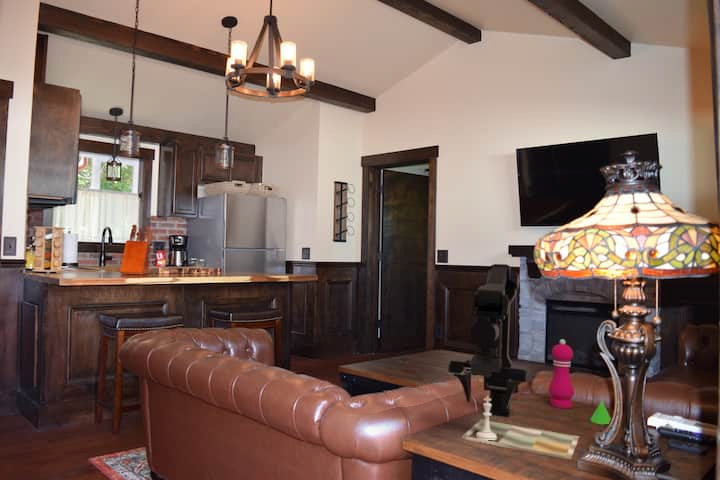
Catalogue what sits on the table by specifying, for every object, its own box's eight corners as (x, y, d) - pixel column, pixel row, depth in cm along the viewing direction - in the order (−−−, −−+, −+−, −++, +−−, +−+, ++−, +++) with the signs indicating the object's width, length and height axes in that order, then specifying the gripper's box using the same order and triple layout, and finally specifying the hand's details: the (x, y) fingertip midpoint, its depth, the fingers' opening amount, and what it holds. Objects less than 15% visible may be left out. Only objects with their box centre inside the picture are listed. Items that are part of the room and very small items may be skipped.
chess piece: (497, 441, 130) (498, 399, 131) (476, 439, 131) (477, 397, 132) (496, 435, 135) (497, 394, 136) (475, 433, 136) (477, 392, 137)
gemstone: (598, 425, 147) (598, 403, 148) (585, 419, 153) (585, 397, 153) (618, 425, 148) (618, 403, 149) (604, 418, 154) (604, 397, 155)
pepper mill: (543, 403, 169) (545, 337, 169) (563, 402, 171) (564, 337, 171) (558, 409, 162) (560, 341, 162) (578, 408, 164) (580, 341, 164)
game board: (480, 421, 146) (480, 419, 146) (579, 438, 135) (579, 436, 135) (461, 438, 131) (461, 436, 131) (570, 459, 120) (570, 457, 120)
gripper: (441, 340, 131) (439, 406, 131) (521, 349, 123) (519, 420, 122) (456, 335, 141) (454, 396, 141) (531, 343, 133) (529, 408, 132)
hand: (487, 405), depth 134 cm, fingers open, 9 cm apart
